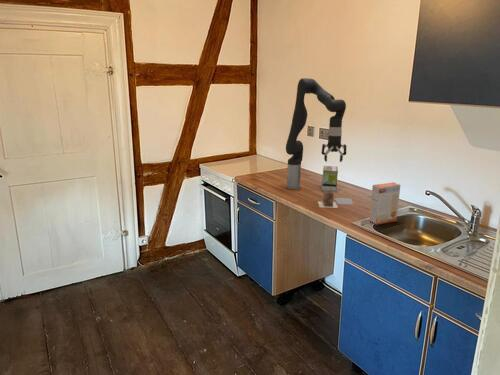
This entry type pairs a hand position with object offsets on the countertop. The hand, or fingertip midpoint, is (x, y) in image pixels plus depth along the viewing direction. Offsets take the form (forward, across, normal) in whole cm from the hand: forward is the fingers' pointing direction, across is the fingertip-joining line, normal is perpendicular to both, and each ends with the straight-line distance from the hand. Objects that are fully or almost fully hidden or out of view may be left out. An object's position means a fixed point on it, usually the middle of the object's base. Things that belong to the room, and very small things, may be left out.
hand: (333, 161), depth 225 cm
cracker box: (+27, +25, -27) cm, 46 cm away
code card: (+27, -2, -2) cm, 27 cm away
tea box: (+27, +3, +34) cm, 43 cm away
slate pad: (+27, +9, +5) cm, 28 cm away
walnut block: (+26, -2, -2) cm, 27 cm away
